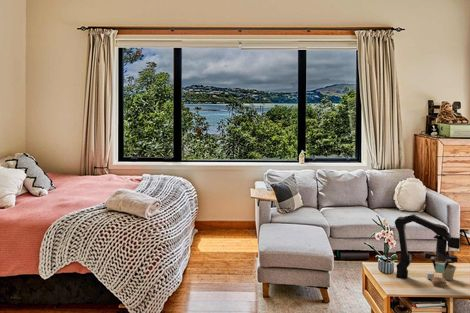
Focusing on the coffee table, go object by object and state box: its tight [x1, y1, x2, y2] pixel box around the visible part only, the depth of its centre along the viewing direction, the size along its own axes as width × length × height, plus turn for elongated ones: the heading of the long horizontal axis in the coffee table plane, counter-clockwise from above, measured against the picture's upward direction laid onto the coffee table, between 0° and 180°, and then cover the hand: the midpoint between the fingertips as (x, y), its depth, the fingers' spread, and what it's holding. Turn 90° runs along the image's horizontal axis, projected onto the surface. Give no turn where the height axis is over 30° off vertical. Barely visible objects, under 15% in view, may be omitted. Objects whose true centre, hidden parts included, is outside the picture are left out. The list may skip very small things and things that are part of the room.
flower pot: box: [441, 263, 457, 281], centre depth 281 cm, size 9×9×9 cm
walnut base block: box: [431, 276, 447, 288], centre depth 272 cm, size 7×7×4 cm
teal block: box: [434, 261, 445, 274], centre depth 271 cm, size 5×5×5 cm
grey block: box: [424, 270, 435, 281], centre depth 282 cm, size 4×4×4 cm
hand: (439, 270), depth 272 cm, fingers closed on teal block, 5 cm apart
